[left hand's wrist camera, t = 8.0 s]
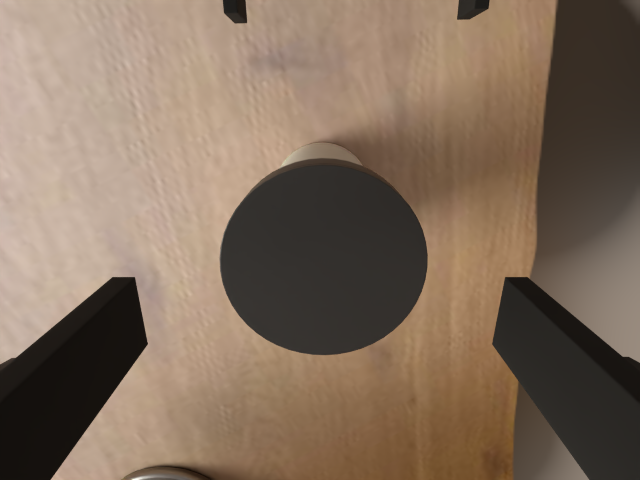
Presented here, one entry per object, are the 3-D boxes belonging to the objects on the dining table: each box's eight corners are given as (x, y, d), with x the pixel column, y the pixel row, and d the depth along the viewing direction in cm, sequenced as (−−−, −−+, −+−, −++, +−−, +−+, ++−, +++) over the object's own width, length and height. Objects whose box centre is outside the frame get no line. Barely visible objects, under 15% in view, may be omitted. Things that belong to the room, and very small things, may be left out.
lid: (440, 294, 19) (453, 315, 17) (279, 353, 20) (275, 379, 19) (377, 124, 16) (385, 126, 14) (195, 205, 18) (180, 218, 16)
